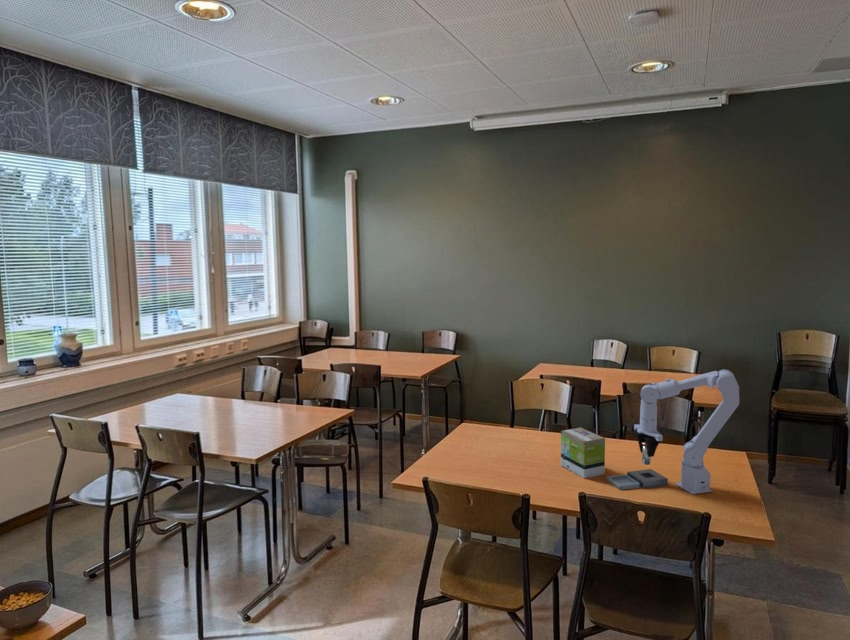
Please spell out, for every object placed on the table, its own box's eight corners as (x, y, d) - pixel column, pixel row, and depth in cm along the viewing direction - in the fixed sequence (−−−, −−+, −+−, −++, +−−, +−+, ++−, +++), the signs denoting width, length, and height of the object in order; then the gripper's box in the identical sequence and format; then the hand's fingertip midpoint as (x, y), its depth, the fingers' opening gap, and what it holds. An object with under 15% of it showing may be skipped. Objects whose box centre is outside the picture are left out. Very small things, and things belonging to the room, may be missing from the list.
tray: (640, 487, 210) (640, 483, 210) (620, 489, 208) (620, 485, 208) (626, 478, 218) (626, 474, 218) (606, 480, 217) (606, 476, 216)
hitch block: (667, 485, 211) (667, 478, 211) (643, 488, 209) (643, 481, 209) (650, 475, 221) (651, 468, 221) (627, 478, 219) (627, 471, 218)
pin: (654, 464, 213) (655, 444, 212) (644, 465, 212) (645, 445, 211) (647, 460, 217) (649, 440, 216) (638, 461, 216) (639, 441, 215)
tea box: (559, 466, 232) (560, 429, 231) (580, 462, 236) (580, 426, 235) (584, 479, 219) (584, 440, 217) (605, 474, 222) (606, 437, 221)
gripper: (627, 413, 218) (626, 448, 220) (650, 424, 204) (649, 462, 206) (643, 412, 220) (642, 447, 221) (668, 423, 206) (667, 460, 207)
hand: (647, 454), depth 214 cm, fingers closed on pin, 4 cm apart
